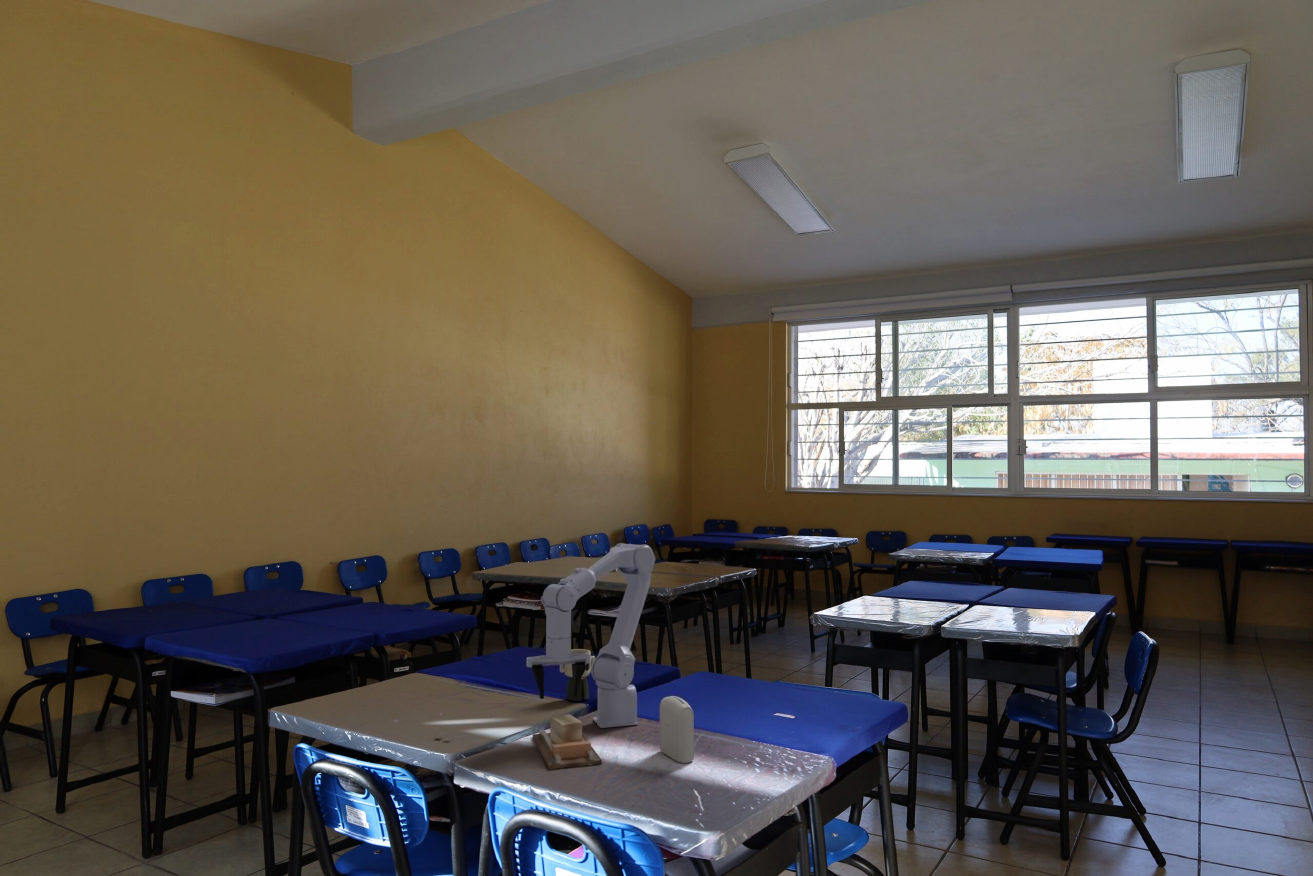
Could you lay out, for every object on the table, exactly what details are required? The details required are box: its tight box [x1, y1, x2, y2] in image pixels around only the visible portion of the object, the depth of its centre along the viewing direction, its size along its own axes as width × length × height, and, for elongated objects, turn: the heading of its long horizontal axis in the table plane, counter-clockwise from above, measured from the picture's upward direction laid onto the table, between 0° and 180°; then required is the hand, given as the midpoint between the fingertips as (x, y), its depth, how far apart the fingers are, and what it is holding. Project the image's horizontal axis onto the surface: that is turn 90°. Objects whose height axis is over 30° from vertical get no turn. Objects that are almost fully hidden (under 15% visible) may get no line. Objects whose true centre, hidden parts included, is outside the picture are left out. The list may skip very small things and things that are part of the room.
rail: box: [538, 728, 594, 764], centre depth 176 cm, size 8×21×1 cm, turn 18°
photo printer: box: [659, 695, 695, 764], centre depth 172 cm, size 10×4×12 cm, turn 26°
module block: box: [549, 713, 583, 744], centre depth 175 cm, size 4×7×6 cm, turn 29°
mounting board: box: [532, 732, 603, 770], centre depth 176 cm, size 11×22×1 cm, turn 18°
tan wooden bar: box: [552, 740, 592, 759], centre depth 170 cm, size 8×2×2 cm, turn 108°
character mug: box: [559, 648, 596, 702], centre depth 218 cm, size 11×7×13 cm, turn 125°
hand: (558, 696), depth 185 cm, fingers open, 7 cm apart
